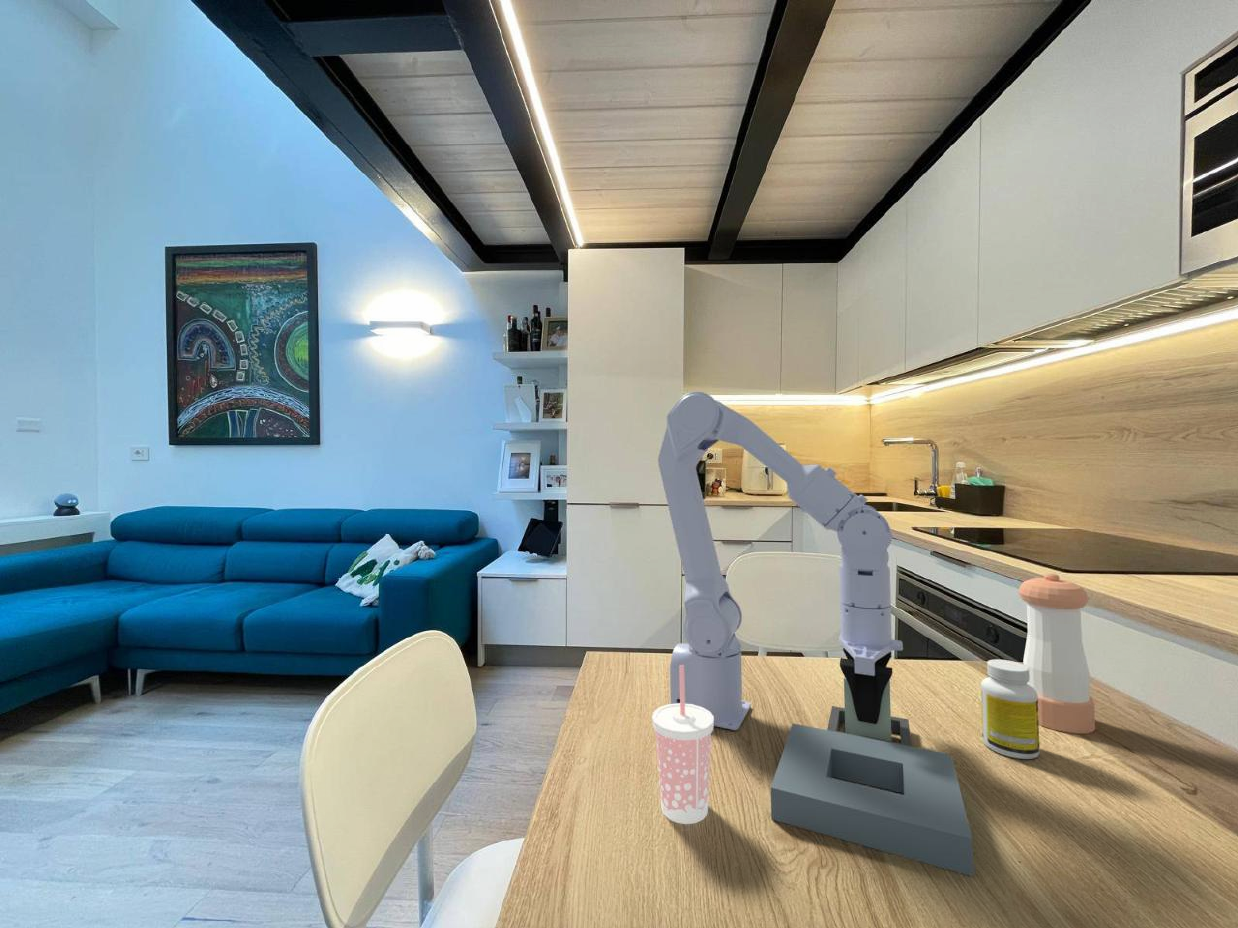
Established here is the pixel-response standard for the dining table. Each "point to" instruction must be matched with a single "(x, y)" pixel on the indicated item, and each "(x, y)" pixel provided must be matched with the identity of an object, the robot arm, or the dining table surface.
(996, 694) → the supplement bottle
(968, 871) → the port block
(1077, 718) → the pepper shaker
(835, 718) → the grey rectangular frame
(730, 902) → the dining table surface
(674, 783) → the beverage cup
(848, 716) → the plug
